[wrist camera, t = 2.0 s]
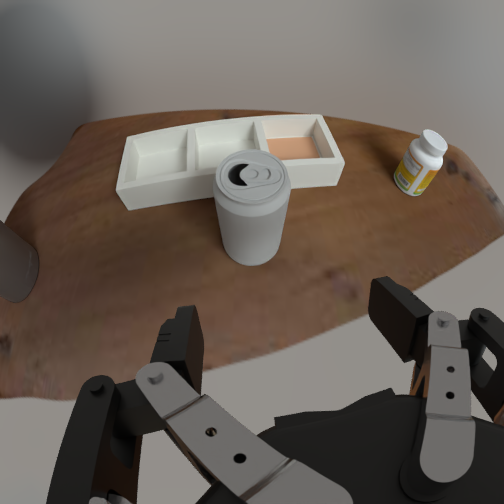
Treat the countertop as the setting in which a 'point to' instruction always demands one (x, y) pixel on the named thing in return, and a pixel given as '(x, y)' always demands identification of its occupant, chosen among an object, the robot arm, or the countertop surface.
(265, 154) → the beverage can
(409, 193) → the supplement bottle
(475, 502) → the robot arm
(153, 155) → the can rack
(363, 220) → the countertop surface
